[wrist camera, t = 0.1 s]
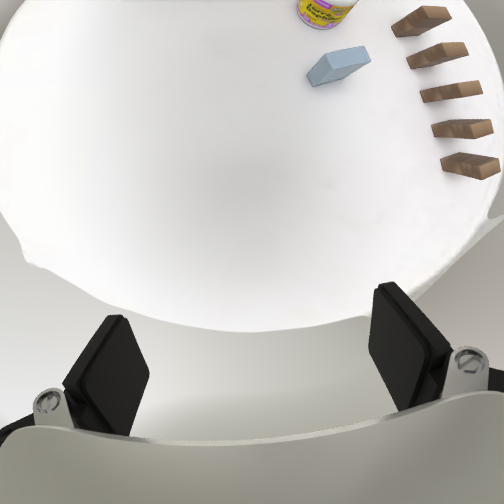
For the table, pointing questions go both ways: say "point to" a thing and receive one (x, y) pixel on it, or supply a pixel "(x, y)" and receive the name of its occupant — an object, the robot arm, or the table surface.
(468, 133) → the domino
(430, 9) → the domino
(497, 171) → the domino
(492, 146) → the table surface
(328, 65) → the domino
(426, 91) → the domino
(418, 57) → the domino
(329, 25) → the supplement bottle
